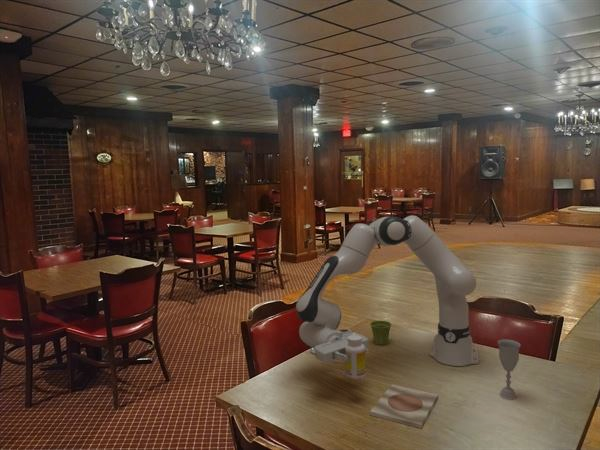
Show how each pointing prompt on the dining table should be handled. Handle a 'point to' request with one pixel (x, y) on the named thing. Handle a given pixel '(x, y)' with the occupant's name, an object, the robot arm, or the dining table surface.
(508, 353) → the chalice
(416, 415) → the board
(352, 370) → the supplement bottle
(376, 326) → the plant pot
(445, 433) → the dining table surface
